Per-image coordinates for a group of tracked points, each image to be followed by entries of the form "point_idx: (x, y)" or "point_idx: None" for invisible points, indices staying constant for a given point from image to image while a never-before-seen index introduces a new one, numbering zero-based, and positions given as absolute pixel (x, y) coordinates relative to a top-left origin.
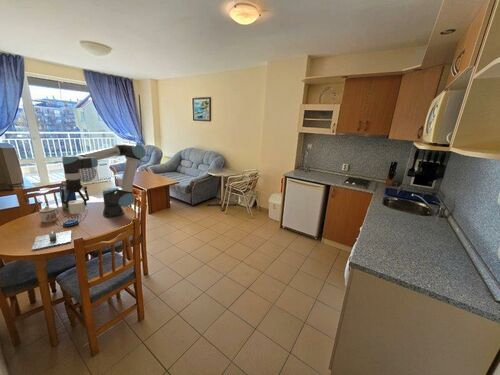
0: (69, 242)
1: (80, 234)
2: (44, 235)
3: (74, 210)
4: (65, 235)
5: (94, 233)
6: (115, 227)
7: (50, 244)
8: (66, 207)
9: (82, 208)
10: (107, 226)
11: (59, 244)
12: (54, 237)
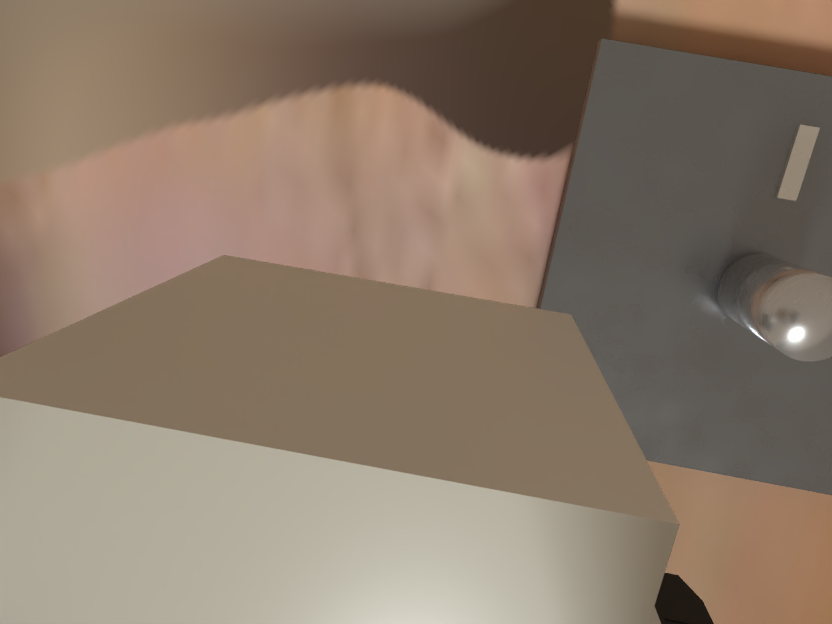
0: (614, 42)
1: (438, 256)
2: (805, 481)
3: (465, 326)
4: (607, 309)
5: (281, 163)
6: (5, 185)
7: (830, 120)
8: (698, 598)
9: (192, 297)
10: (97, 296)
11: (732, 61)
12: (760, 263)
